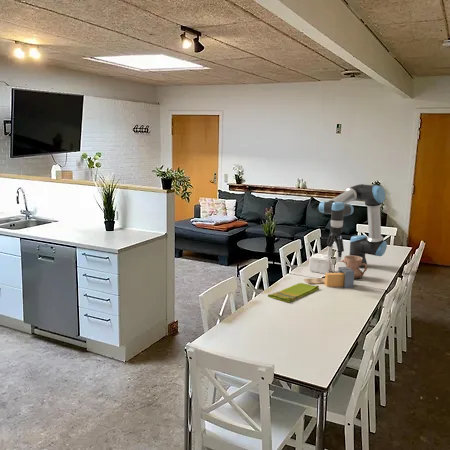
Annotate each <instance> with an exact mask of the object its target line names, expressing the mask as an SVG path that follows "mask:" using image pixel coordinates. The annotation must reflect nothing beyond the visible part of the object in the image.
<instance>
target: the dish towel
mask: <svg viewBox="0 0 450 450" xmlns="http://www.w3.org/2000/svg"><path fill="white" fill-rule="evenodd" d="M318 290H320V286H319V285H314V284H308V283H304V282H303V283H302V282H299V283H296V284H293V285H291V286H289V287H286V288H285V289H282V290H279V291H276V292H273V293H269V294H268V295H267V297H268V298H271V299H274V300H277V301H281V302H284V303H288V304H290V303H292V302H294V301H297V300H299V299H301V298H303V297H306V296H308V295H310V294H312V293H314V292H316V291H318Z"/></svg>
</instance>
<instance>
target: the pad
mask: <svg viewBox="0 0 450 450" xmlns="http://www.w3.org/2000/svg"><path fill="white" fill-rule="evenodd" d="M303 281H304V282H306V284H308V285H325V277H317V278H316V277H313V278H303Z"/></svg>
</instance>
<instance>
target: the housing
mask: <svg viewBox="0 0 450 450" xmlns="http://www.w3.org/2000/svg"><path fill="white" fill-rule="evenodd" d="M337 270H338V271H337V273H344V283H343V286H342V288H344V289H352V288H353V289H354V285H353V284H354V283H355V282H354V281H355V279H354V271H353V270H352V269H351V268H348V267H346V266H339V267H338V269H337Z"/></svg>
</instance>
